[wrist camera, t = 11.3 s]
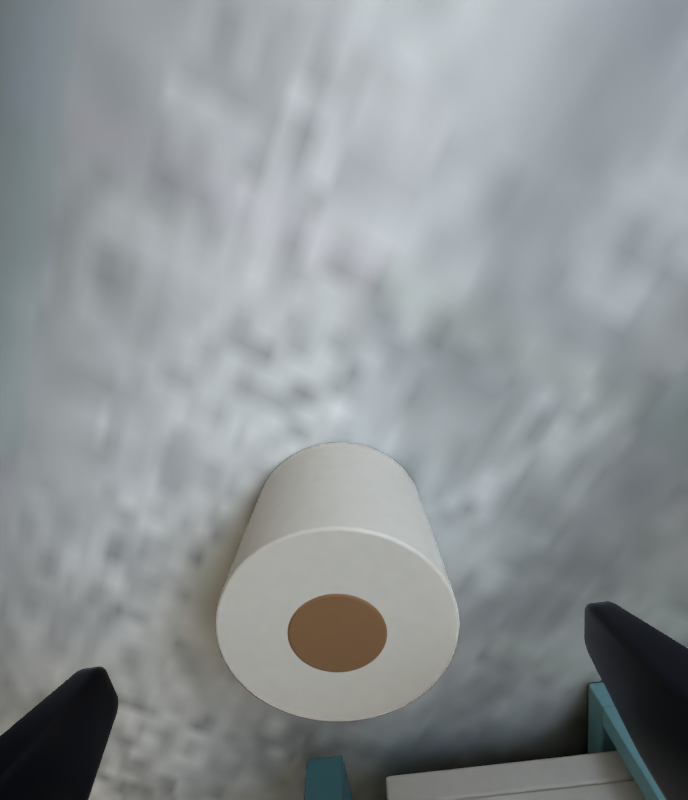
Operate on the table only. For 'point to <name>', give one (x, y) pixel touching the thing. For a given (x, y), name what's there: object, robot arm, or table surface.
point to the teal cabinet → (616, 739)
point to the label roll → (338, 590)
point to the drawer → (492, 780)
